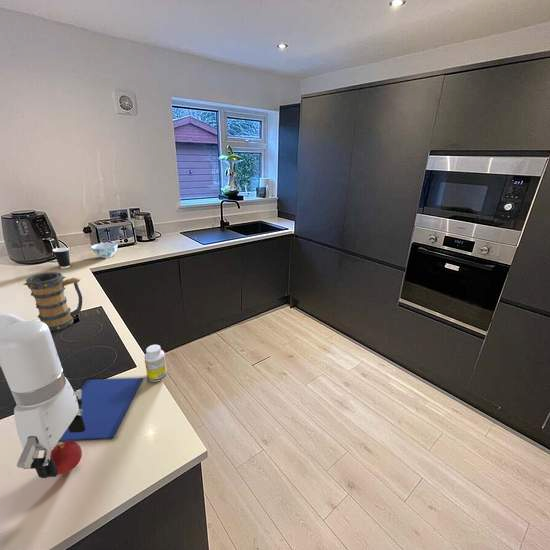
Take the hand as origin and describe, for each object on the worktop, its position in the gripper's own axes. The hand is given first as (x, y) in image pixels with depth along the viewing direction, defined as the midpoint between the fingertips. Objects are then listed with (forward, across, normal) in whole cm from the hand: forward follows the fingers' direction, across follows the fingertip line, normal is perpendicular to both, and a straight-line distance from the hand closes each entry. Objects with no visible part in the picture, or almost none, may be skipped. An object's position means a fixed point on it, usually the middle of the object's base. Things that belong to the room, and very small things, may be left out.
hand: (64, 451), depth 59 cm
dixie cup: (+4, -126, -74) cm, 146 cm away
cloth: (+5, -17, -2) cm, 18 cm away
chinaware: (+4, -146, -58) cm, 157 cm away
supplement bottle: (+6, -28, +10) cm, 30 cm away
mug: (+5, -61, -36) cm, 71 cm away
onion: (+6, 0, 0) cm, 6 cm away
